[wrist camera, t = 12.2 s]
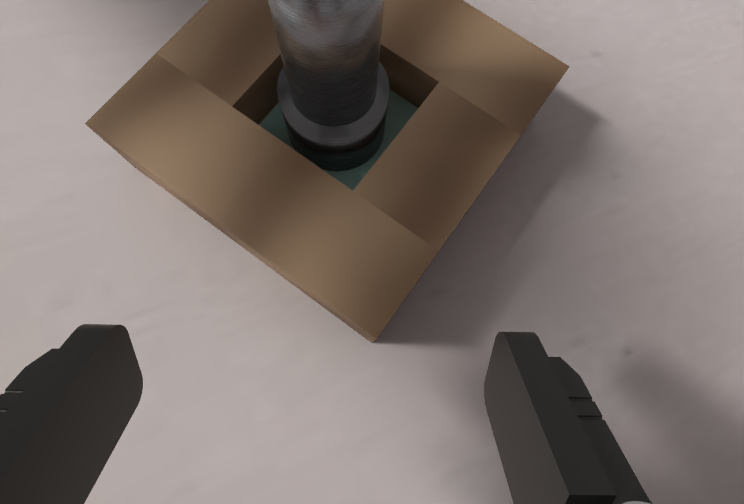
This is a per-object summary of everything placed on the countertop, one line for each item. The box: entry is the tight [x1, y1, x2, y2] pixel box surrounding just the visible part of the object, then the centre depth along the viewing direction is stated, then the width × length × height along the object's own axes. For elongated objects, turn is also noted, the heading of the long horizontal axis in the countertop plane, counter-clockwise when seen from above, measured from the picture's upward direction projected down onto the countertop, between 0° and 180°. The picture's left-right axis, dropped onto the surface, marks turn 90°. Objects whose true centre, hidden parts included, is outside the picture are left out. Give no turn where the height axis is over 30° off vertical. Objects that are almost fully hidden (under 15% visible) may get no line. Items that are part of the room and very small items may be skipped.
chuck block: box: [85, 0, 569, 343], centre depth 20 cm, size 14×14×4 cm
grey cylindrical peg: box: [268, 0, 389, 171], centre depth 15 cm, size 4×4×11 cm
